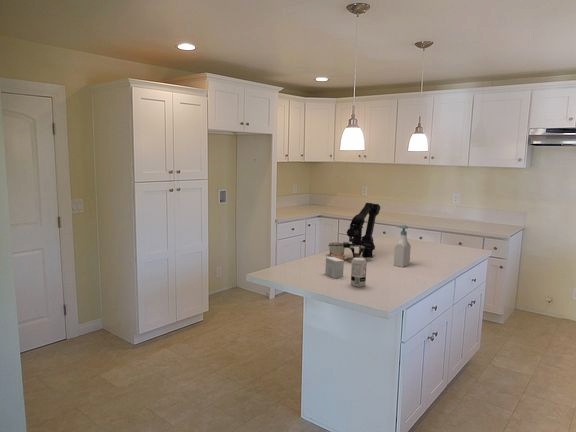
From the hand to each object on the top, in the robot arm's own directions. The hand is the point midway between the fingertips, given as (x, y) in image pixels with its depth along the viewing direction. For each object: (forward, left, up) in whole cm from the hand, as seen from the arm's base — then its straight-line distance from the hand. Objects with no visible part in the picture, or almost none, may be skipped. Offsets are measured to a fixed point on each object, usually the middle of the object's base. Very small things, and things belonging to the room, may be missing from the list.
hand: (356, 257), depth 289 cm
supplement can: (+9, +53, -3) cm, 54 cm away
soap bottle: (-29, +6, -3) cm, 30 cm away
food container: (+12, -14, -3) cm, 18 cm away
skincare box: (+20, +35, -3) cm, 40 cm away
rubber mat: (0, 0, -3) cm, 3 cm away
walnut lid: (0, 0, -2) cm, 2 cm away
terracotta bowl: (+13, 0, -3) cm, 13 cm away
